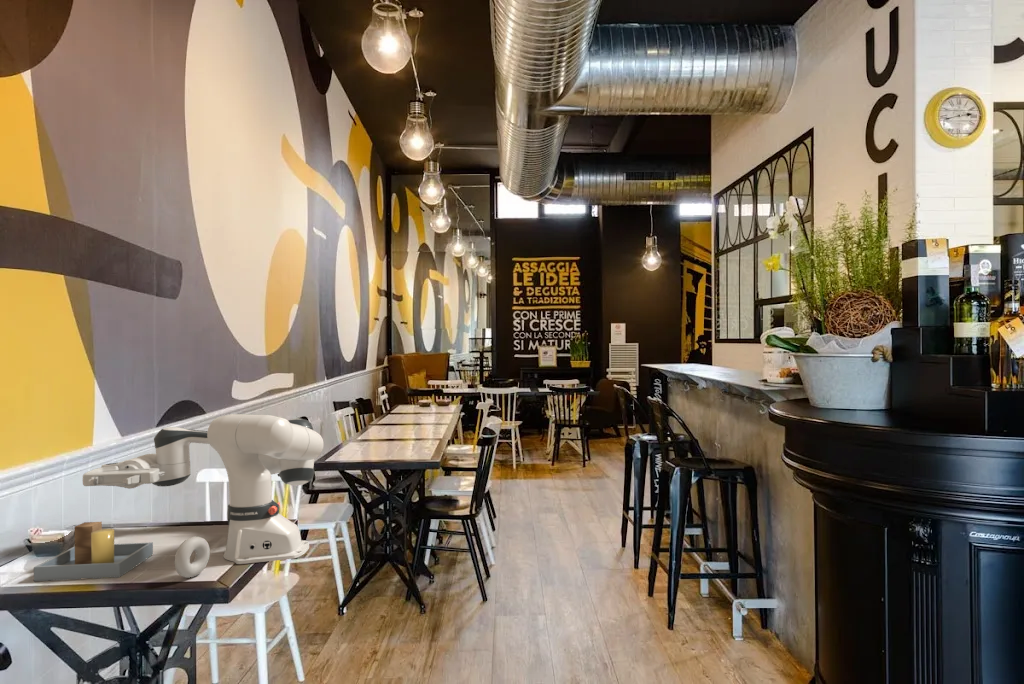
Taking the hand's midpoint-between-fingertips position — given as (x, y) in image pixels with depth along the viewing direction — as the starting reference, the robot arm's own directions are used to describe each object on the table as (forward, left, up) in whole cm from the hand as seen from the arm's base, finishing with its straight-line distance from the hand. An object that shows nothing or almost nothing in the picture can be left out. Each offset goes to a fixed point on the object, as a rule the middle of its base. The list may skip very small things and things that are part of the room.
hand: (108, 482), depth 181 cm
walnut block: (-1, +11, -19) cm, 22 cm away
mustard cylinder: (-9, +19, -19) cm, 28 cm away
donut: (-34, +26, -20) cm, 47 cm away
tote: (-5, +15, -20) cm, 25 cm away
